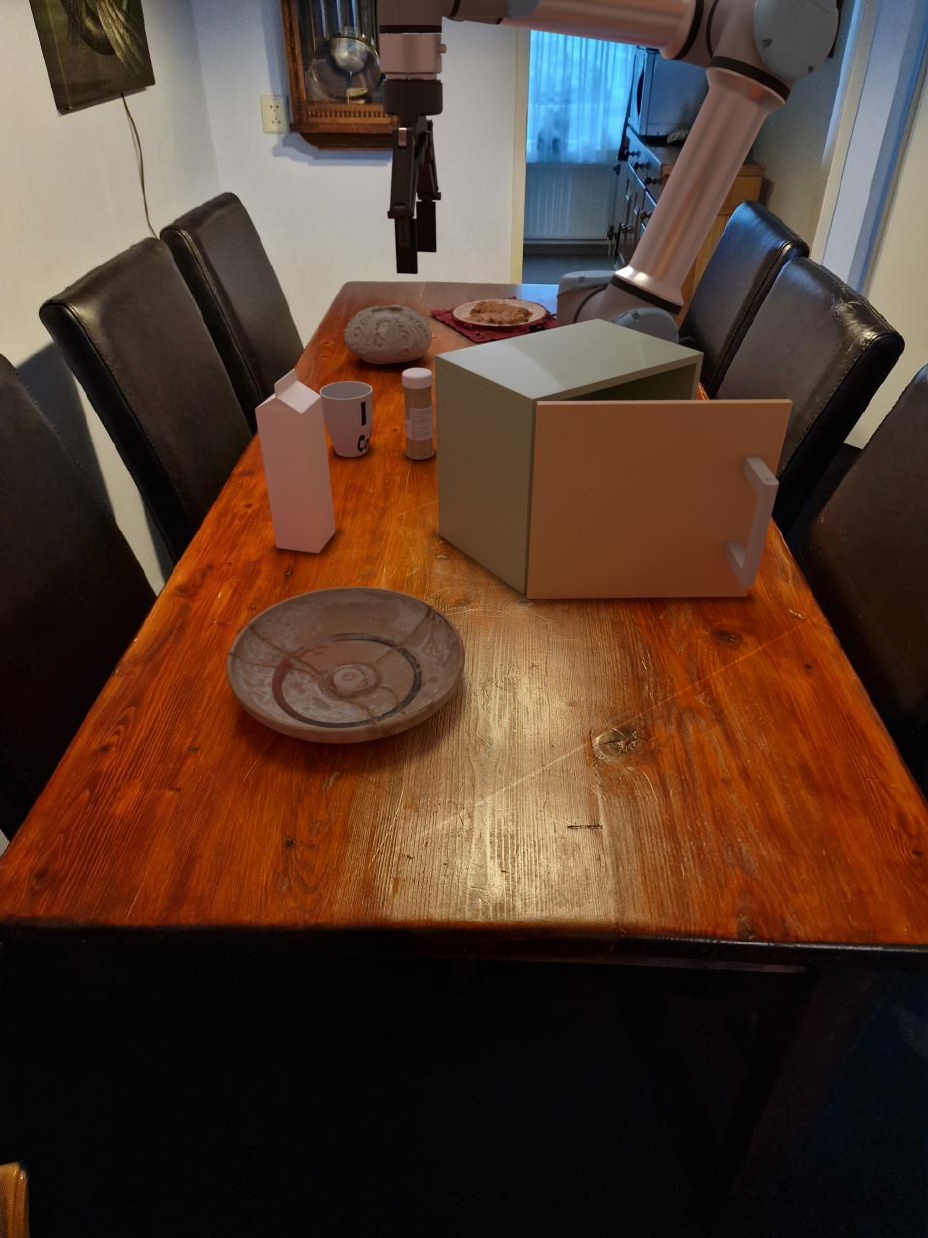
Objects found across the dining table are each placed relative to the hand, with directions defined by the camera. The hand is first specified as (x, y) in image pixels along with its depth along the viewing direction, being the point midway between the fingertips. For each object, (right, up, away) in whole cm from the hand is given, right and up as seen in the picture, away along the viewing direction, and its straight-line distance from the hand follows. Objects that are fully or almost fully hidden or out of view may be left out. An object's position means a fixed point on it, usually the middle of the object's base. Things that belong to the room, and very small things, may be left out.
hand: (417, 262), depth 112 cm
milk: (-14, -39, -4) cm, 42 cm away
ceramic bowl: (-5, -56, -29) cm, 64 cm away
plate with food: (+14, +21, +79) cm, 83 cm away
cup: (-12, -22, +19) cm, 32 cm away
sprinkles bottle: (-1, -23, +18) cm, 29 cm away
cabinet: (+19, -38, -3) cm, 42 cm away
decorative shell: (-9, +4, +57) cm, 58 cm away
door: (+27, -48, -19) cm, 58 cm away
